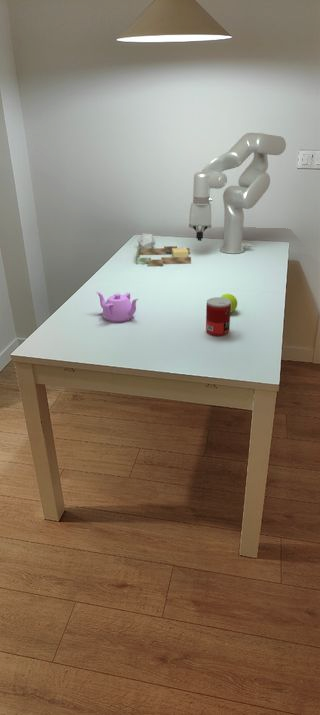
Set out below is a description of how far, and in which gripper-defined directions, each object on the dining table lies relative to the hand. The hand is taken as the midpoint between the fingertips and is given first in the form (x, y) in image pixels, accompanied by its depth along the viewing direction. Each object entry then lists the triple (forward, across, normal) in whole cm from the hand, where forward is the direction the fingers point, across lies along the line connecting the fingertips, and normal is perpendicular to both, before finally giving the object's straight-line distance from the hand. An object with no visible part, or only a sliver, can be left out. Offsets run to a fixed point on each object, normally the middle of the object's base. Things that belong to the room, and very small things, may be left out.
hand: (199, 240), depth 246 cm
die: (+10, +26, -19) cm, 33 cm away
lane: (+10, +17, -1) cm, 20 cm away
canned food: (+11, -2, +85) cm, 86 cm away
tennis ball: (+11, -7, +68) cm, 69 cm away
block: (+10, +9, -1) cm, 13 cm away
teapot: (+12, +33, +71) cm, 79 cm away
